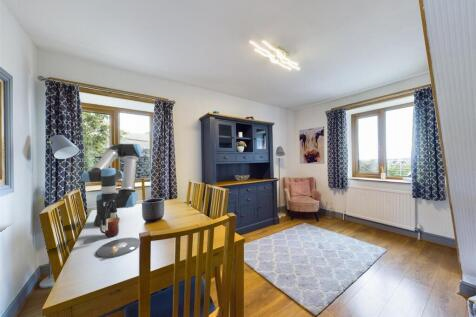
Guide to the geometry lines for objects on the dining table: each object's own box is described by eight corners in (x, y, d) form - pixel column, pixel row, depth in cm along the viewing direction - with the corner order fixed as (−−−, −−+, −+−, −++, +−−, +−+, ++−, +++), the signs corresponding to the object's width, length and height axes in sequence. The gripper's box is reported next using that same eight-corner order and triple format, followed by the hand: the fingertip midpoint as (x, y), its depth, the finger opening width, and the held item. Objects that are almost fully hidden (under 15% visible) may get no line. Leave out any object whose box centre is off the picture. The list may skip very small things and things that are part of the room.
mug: (112, 232, 123) (111, 216, 123) (123, 233, 121) (123, 217, 121) (94, 240, 111) (94, 223, 111) (107, 241, 110) (106, 224, 109)
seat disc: (106, 242, 109) (106, 234, 109) (143, 237, 115) (143, 229, 114) (89, 260, 90) (89, 250, 90) (135, 254, 95) (135, 245, 95)
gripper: (109, 189, 127) (110, 220, 127) (92, 196, 103) (92, 234, 103) (122, 189, 129) (122, 219, 129) (107, 195, 105) (108, 233, 105)
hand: (109, 226), depth 116 cm, fingers open, 13 cm apart
